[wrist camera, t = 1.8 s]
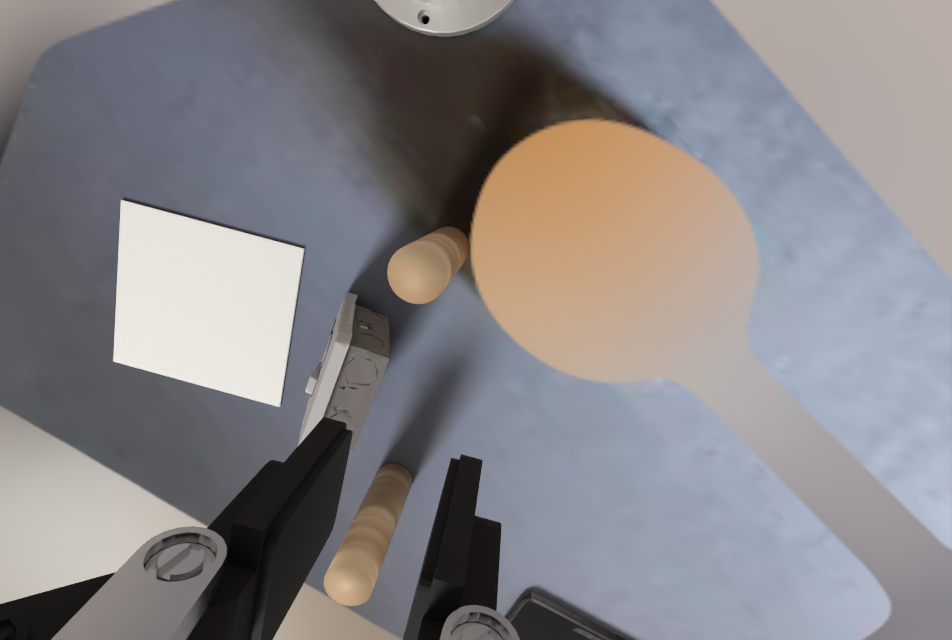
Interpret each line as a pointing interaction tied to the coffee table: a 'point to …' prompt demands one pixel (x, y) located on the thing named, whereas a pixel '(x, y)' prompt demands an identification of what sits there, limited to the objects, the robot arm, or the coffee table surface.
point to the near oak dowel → (428, 264)
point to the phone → (551, 621)
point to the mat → (205, 302)
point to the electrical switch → (349, 369)
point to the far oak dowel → (368, 537)
